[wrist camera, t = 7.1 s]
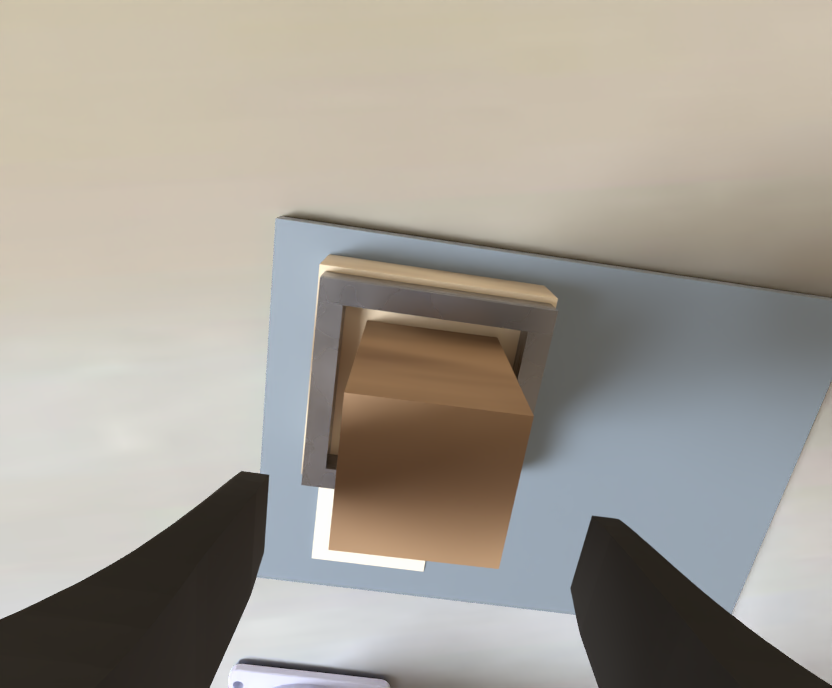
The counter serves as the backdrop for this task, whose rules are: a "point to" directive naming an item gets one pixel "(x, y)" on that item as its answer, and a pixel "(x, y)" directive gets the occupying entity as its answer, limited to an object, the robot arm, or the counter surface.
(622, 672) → the robot arm
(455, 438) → the walnut block
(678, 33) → the counter surface
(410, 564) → the board
